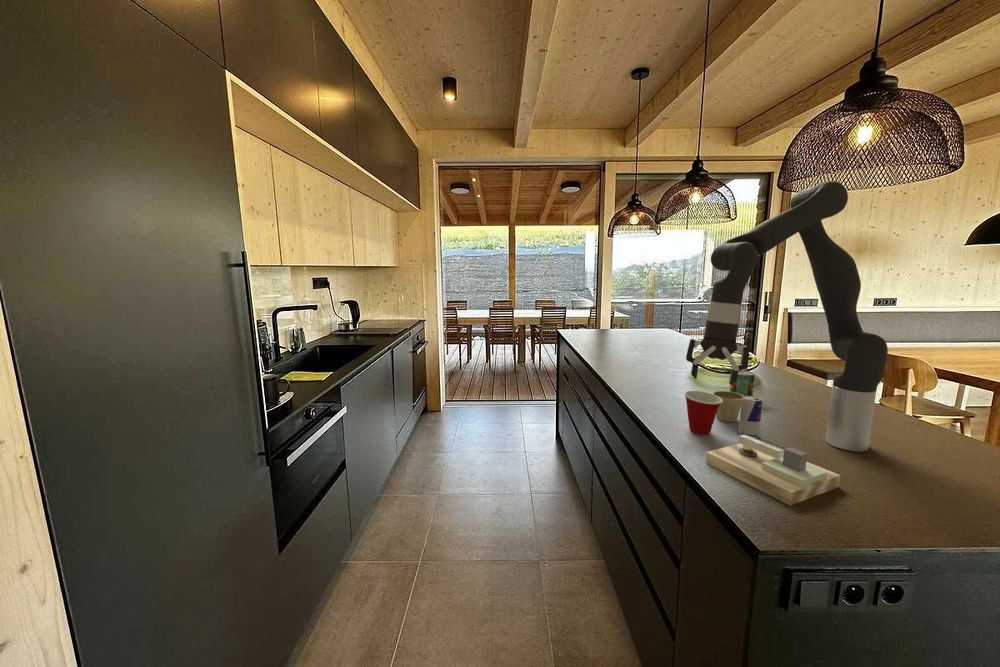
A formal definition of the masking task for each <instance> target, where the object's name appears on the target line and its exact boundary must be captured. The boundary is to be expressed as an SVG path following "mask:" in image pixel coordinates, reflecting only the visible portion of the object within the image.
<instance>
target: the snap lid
mask: <svg viewBox="0 0 1000 667" xmlns="http://www.w3.org/2000/svg"><path fill="white" fill-rule="evenodd" d="M783 450H784V456H783V458H781V459H773V460H769V461H766V462H763V463H762V469H764V470H766V471H768V472H770V473H773V474H775V475H777V476H779V477H781V478H784V479H786V480H788V481H790V482H792V483H795V484H797V485H799V486H801V487H803V486H806V485H809V484H812V483H815V482H817V481H820V480H823V479H826V478H827V472H825V471H823V470H820V469H818V468H816V467H813V466H811V465H808V464H806V462H807V459H808V453H807V452H804V451H802V450H799V449H797V448H793V447H787V448H784V449H783Z"/></svg>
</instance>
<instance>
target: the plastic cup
mask: <svg viewBox="0 0 1000 667" xmlns="http://www.w3.org/2000/svg"><path fill="white" fill-rule="evenodd" d="M684 397H685V403H686V409H687V419H688V420H687V421H688V425H689V427H688V428H689V431H690V432H691V433H693V434H695V435H699V436H709V435H710V434H711V432H712V428H713V425H714V423H715V419H716V413H717V410H718V408H719V406H720V404H721V403H722V402H723V399H721V398H720V397H718V396H716V395H714V394H713V393H710V392H705V391H701V390H686V391H685V392H684Z"/></svg>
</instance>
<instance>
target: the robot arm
mask: <svg viewBox="0 0 1000 667" xmlns="http://www.w3.org/2000/svg"><path fill="white" fill-rule="evenodd" d="M848 200H849V194H848V190H847V188H846V187H845V186H844V184H842V183H840V182H839V181H827V182H822V183H819V184H817V185H814V186H811V187H808V188H805V189H803V190H800V191H797V192H796V193H794V194H793V196H792V197H791V198H790V202H789V203H790V204H789V208H790V209H788V210H785V211H784V212H781V213H779V214H777V215H775V216H772V217H770V218H768V219H767V220H765V221H763V222H761V223H759V224H758V225H756V226H755V227H753V228H752V229H750V230H749V231H747V232H745V233H743V234H740V235H737V236H735V237H733V238H730V239H728V240H726V241H724V242H722V243H720V244H719V245H717V246H716V247H715V248H714V249H713V251H712V252H711V255H710V263H711V266H713V268H714V269H715V270H718V271H721V272H727V271H728V273H727V276H725V278H722V279H718V280H716V281H715V282H714V284H713V287H712V291H711V298H710V302H709V303H710V304H709V307H708V310H707V315H706V321H705V327H704V334H703V338H702V340H697V339H694V338H690V339H689V343H688V347H687V351H686V356H685V359H686V361H687V362H688V363H689V362H690V363H691V364H692V365H691V366H692V367H691V372H690V374H691V376H692V378H693V379H697V377H698V371H699V366H700V365H699V363H701V362H702V361H703V360H705V359H706V357H707V358H710V359H717V360H721V361H724V360H727V361H728V364H730V366H731V368H732V369H731V370H730V374H729V379H728V383H729V385H730V384H731V385H733V383H736V381H737V376H738V371H739V370H745V371H747V370H748V368H749V358H750V347H749V346H747V345H743V346H742V345H737V338H738V332H739V327H740V323H741V314H742V304H743V300H744V299H743V298H744V291H745V288H746V286H747V284H748V282H749V280H750V279H751V276H752V274H753V272H754V270H755V268H756V266H757V263H758V256H761V255H764V254H766V253H767V252H769V251H771V250H772V249H773V248H775V247H777V246H778V245H780V244H781V243H783V242H784V241H786V240H788V239H789V238H791V237H793V236H794V235H796V234H797V233H798V234H799V236H800V239H801V241H802V244H803V245H804V249H805V252H806V254H807V257H808V260H809V265H810V267H811V271H812V275H813V280H814V283H815V285H816V288H817V289H816V290H817V291H818V294H819V298H820V301H821V304H822V307H823V309H822V310H823V311H824V314H825V318H826V322H827V330H828V334H829V341H830V342H829V343H830V347H831V350H832V352H833V355H835V356H836V357H837V358H838V359H839V360H842V361H844V362H845V364H844V369H843V372H842V373H838V374H835V375H834V377H833V380H832V388H831V396H830V397H831V398H830V403H829V411H828V412H829V413H828V418H827V428H826V434H825V443H827V444H829V445H831V446H832V447H836V448H838V449H842V450H844V451H845V450H846V451H850V452H859V453H860V452H862V453H863V452H867V451H868V450H869V442H870V438H871V437H870V436H871V429H872V424H873V417H874V409H875V404H876V395H877V389H878V386H879V384H880V383H881V382H882V380H883V377H884V373H885V369H886V364H887V359H888V352H889V349H888V345H887V344H888V343H887V342H886V340H885V339H884V338H883V337H881V335H877V334H876V333H871V332H865V331H864V330H863V328H862V326H861V323H860V319H859V317H858V313H857V305H858V301H859V297H860V292H861V288H862V285H861V284H862V282H861V278H860V274H859V270H858V267H857V264H856V261H855V260H854V258H853V256H852V255H851V254H850V253H848V251H846V250H845V249H844V248H843V247H841V246H840V245H839V244H837V243H836V242H835V241H834V240H833V239H832V238H831V237H830V236H829V235H828V234H827V231H826V229H825V227H824V225H823V220H825V219H829V218H831V217H833V216H836V215H838V214H839V213H841V212H842V211H843V210H844V209H845V208H846V206H847V204H848ZM698 346H701V349H702V350H703V351H701V352H700V353H699V354H698V355H697V356H696V357H693V353H694V349H697V347H698ZM737 350H738V353H739V354H740V355H741V358H740V359H741V360H740V364H737V362H736V361H735V359H734V357H733V356H732V355H733V354H734V353H735V352H736V351H737Z"/></svg>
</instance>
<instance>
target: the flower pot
mask: <svg viewBox="0 0 1000 667" xmlns="http://www.w3.org/2000/svg"><path fill="white" fill-rule="evenodd" d="M712 394H714V395H716V396H718V397H720V398H721V399H723V402H722V403H721V404H720V406H719V408H718V410H717V413H716V416H715V419H718V420H719V421H721V422H726V423H736V422H737V421H738V418H739V416H740V411H741V400H742V398H743V395H741V394H738V393H735V392H730V390H729V391H727V390H716V391H713V392H712Z"/></svg>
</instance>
